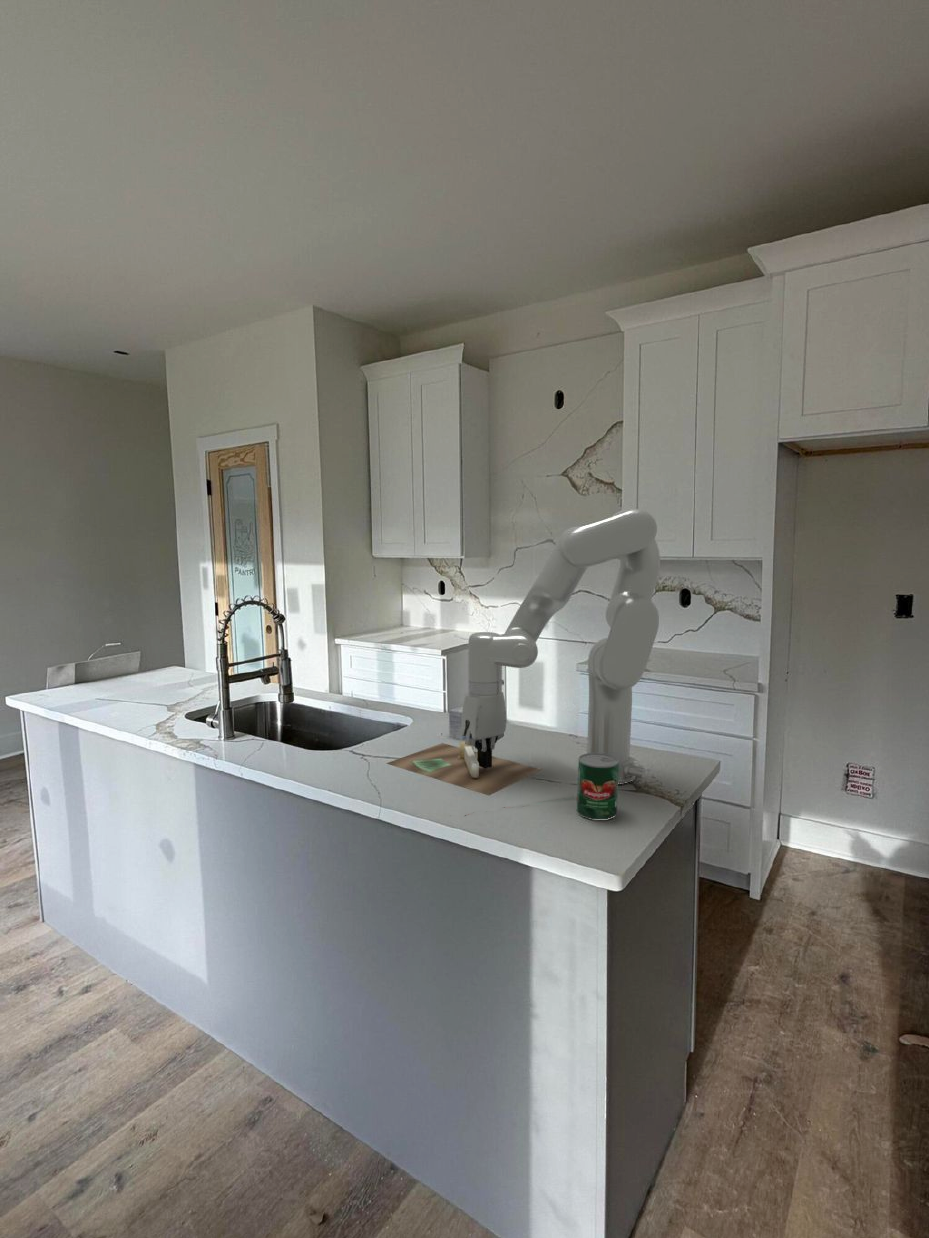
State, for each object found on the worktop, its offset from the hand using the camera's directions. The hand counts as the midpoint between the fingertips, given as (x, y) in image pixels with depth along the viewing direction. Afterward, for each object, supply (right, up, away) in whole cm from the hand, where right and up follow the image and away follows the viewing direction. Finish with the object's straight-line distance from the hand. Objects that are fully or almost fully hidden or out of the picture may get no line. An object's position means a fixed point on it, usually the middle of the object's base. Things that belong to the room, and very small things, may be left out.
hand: (484, 766), depth 157 cm
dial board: (-5, -2, +3) cm, 6 cm away
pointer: (-3, 0, +2) cm, 4 cm away
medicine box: (-5, +1, +27) cm, 27 cm away
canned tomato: (+22, -5, -20) cm, 30 cm away
